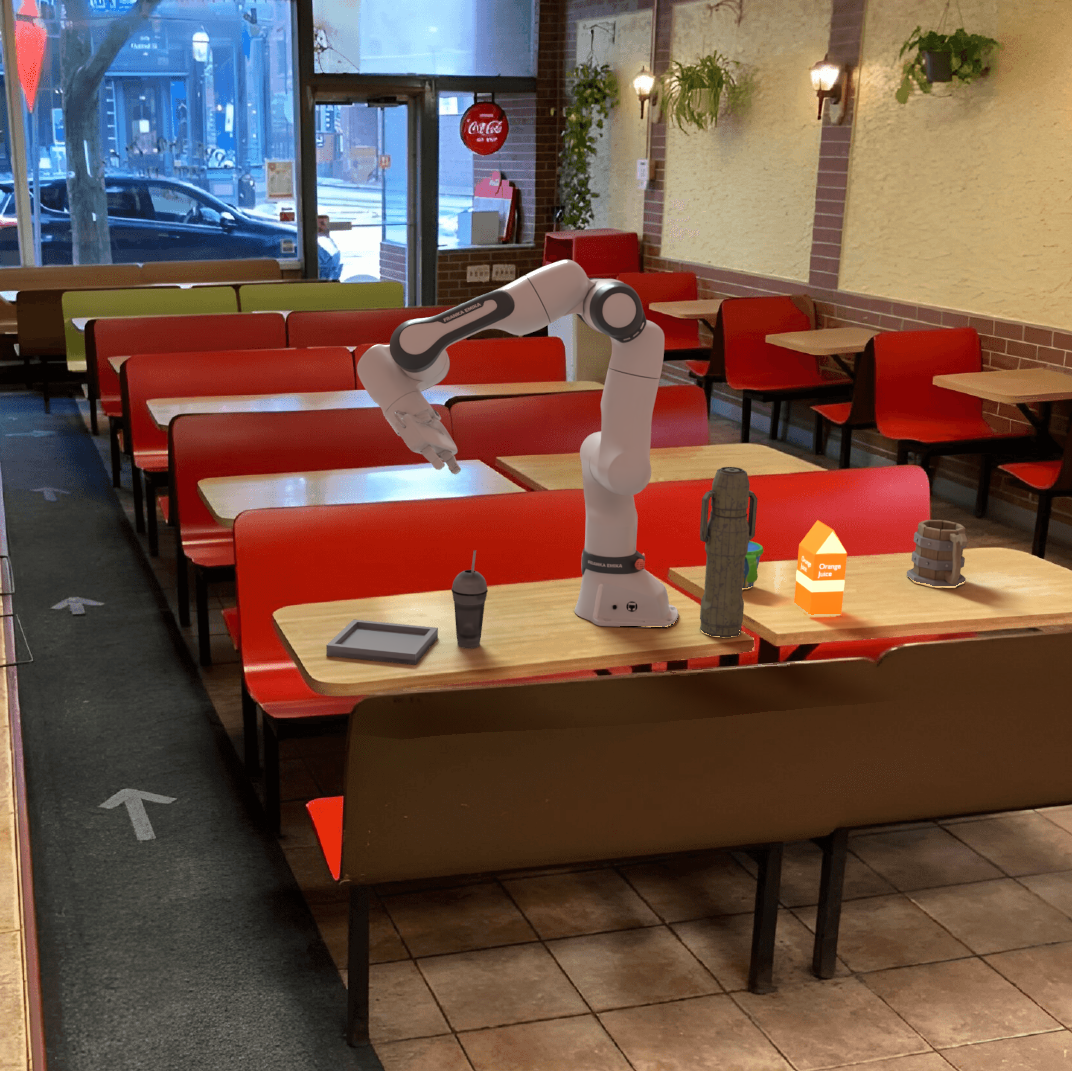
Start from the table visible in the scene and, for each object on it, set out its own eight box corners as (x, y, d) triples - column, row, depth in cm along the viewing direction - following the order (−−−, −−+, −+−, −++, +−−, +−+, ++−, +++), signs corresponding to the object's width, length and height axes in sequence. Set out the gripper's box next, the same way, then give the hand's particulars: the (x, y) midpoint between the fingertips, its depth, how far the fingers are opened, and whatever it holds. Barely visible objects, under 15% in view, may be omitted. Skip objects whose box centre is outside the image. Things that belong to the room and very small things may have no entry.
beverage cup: (467, 635, 273) (469, 542, 268) (494, 644, 269) (496, 549, 263) (443, 644, 268) (444, 549, 262) (469, 653, 263) (471, 556, 258)
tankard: (901, 572, 327) (907, 513, 323) (951, 573, 328) (958, 514, 324) (929, 598, 308) (936, 535, 304) (982, 598, 309) (990, 536, 305)
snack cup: (769, 596, 305) (773, 554, 303) (725, 597, 303) (729, 555, 301) (747, 576, 320) (750, 535, 317) (705, 577, 318) (708, 536, 315)
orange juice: (808, 618, 291) (816, 530, 286) (793, 605, 299) (800, 519, 294) (842, 617, 293) (850, 529, 287) (825, 604, 301) (833, 518, 296)
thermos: (756, 634, 279) (768, 472, 270) (707, 641, 275) (718, 475, 265) (733, 621, 287) (745, 463, 278) (685, 627, 282) (696, 466, 273)
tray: (437, 637, 271) (437, 627, 271) (415, 665, 256) (415, 654, 256) (353, 629, 275) (353, 619, 274) (326, 655, 259) (326, 645, 259)
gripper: (403, 399, 257) (443, 455, 254) (440, 413, 277) (477, 465, 274) (379, 419, 258) (418, 475, 256) (417, 432, 278) (454, 484, 275)
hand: (449, 470), depth 265 cm, fingers open, 8 cm apart
